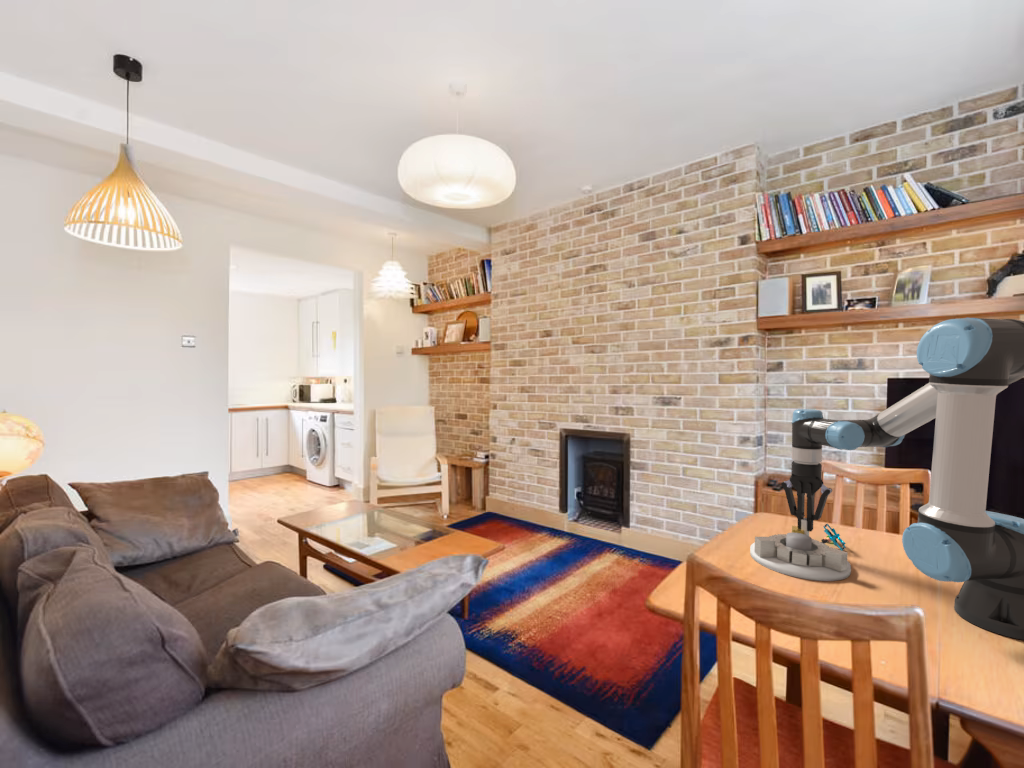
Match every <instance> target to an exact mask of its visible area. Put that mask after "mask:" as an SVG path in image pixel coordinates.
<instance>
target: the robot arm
mask: <svg viewBox="0 0 1024 768" xmlns="http://www.w3.org/2000/svg"><path fill="white" fill-rule="evenodd" d="M916 359H917V362H918V364H919V365H921V369H923V371H924V372H927V373H928V374H929V378H928V383H925V385H924V386H923V385H922V386H921V387H920V388H918V389H917V390H915V391H913V392H911V394H908V395H907V396H905V397H903V398H902V399H900V400H899V401H897V402H896V403H894V404H892V405H891V406H889V407H888V408H886V409H884V410H883V411H881V412H880V413H878V414H877V415H874V416H873V417H872V418H869V419H868V418H867V419H830V418H824V415H823V414H824V413H823V411H822V410H820V409H809V408H797V409H794V410H793V413H792V417H791V418H792V421H791V460H792V462H791V470H790V471H791V475H790V477H789V479H788V480H785V481H782V482H781V484H780V485H781V487H782V488H783V490H784V492H785V496H786V501H787V505H788V508H789V513H790V515H791V516H794V517H795V518H797V526H798V529H801V530H804V534H805V535H808V536H810V532H813V530H814V521H819V520H820V519H821V518H822V515H823V512H824V510H825V507H826V502H827V500H828V497H829V495H830V494H831V493H832V492H833V489H832V488H831V487H828V486H826V485H825V484H824V481H823V479H822V470H823V468H822V464H821V463H822V461H823V460H822V458H823V446H824V447H829V448H834V449H837V450H841V451H842V450H844V451H855V450H856V449H858V448H888V447H895V446H898V445H900V444H901V443H902V442H903V439H905V436H906V435H907V434H909V433H910V432H912V431H914V430H916V429H918V428H919V427H921V426H923V425H925V424H927V423H930V422H931V421H932V420H934V419H935V422H934V423H935V425H934V434H933V435H934V436H933V447H932V449H933V450H932V457H931V458H932V461H931V470H930V472H931V473H930V483H929V484H930V486H929V496H928V497H929V498H928V502H927V503H926V504H924V505H922V506H920V507H919V508H918V514H917V522H914V523H911V524H910V525H909V526H908V527H906V528H905V529H904V531H903V533H902V537H901V542H902V547H903V551H904V553H905V555H906V556H907V558H908V560H910V561H911V563H912V565H913V566H914V567H915V568H916V569H917V570H918V571H920V572H921V573H922V574H923V575H925V576H927V577H929V578H930V579H933V580H935V581H938V582H947V583H948V582H949V583H950V582H954V583H963V584H962V585H961V588H960V589H959V593H958V594H956V596H955V598H954V606H953V608H954V609H953V610H954V611H955V613H956V614H957V615H958V616H960V618H962V619H963V620H965V621H967V622H969V623H970V624H973V625H975V626H977V627H979V628H981V629H983V630H986V631H988V632H989V631H990V632H992V633H995V634H999V635H1002V636H1005V637H1008V638H1013V639H1017V640H1022V641H1024V518H1021V517H1017V516H1015V515H1014V516H1013V515H1009V514H1006V513H1005V514H1004V513H999V512H994V511H988V510H986V509H987V499H988V488H989V476H990V475H989V474H990V467H991V466H990V465H991V454H992V445H993V436H994V435H993V432H994V425H995V423H994V421H995V412H996V411H995V410H996V401H997V400H996V399H997V396H998V394H1000V393H1001V392H1002V391H1004V390H1005V389H1007V388H1008V387H1009V385H1012V383H1015V382H1017V381H1019V380H1021V379H1022V378H1024V320H1021V319H1015V318H1014V319H1012V318H1002V319H1000V318H999V319H998V318H986V317H985V318H984V317H983V318H981V317H963V318H962V317H961V318H951V319H946V320H943V321H941V322H938V323H936V324H934V325H932V327H930V329H928V330H927V331H926V332H924V333H923V335H922V337H920V340H919V342H918V345H917V347H916ZM792 487H793V488H794V489H795V491H796V496H797V498H796V500H797V501H796V500H795V496H794V492H793V488H792ZM818 491H820V493H821V495H820V497H819V500H818V504H817V506H816V510H815V497H816V496H815V495H816V493H817V492H818ZM805 497H806V500H805ZM805 501H806V502H805ZM796 502H797V503H796ZM805 503H806V515H805ZM805 516H806V517H805Z"/></svg>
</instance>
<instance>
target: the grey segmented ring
mask: <svg viewBox="0 0 1024 768" xmlns="http://www.w3.org/2000/svg"><path fill="white" fill-rule="evenodd" d="M791 533H801V534H804V530H801V529H798V525H791ZM786 536H787V533H785V534H784V533H783V534H782V533H780V534H779V533H777V534H771V535H769V536H755V537H754V543H755V553H756V554H757V555H759V556H760V557H777V558H778V559H781V560H784V561H786V562H792V563H793V564H798V565H803V566H806V564H807V565H808V566H825V567H828V568H831V569H834V570H837V571H840V572H842V571H844V570H847V561H848V554H849V553H848V552H847V551H844V550H843V551H841V550H840V549H837V548H835V547H833V546H832V547H830V546H829V545H827V544H826V543H825V544H824V543H822V541H820V540H816V539H814V538H812V543H811V551H803V550H798V549H793V548H790V547H787V546H786Z"/></svg>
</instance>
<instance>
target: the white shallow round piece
mask: <svg viewBox="0 0 1024 768" xmlns="http://www.w3.org/2000/svg"><path fill="white" fill-rule="evenodd" d="M786 534H787V536H786V546H787V547H790V548H793V549H798V550H803V551H811V543H812V539H813V538H812V537H811V536H810V535H809V536H808V535H805V534H801V533H792V532H788V533H786ZM749 549H750V550H749V551H750V553H749V554H750V556H751V558H752V559H753V560H754V562H757V564H759V565H761V566H763V567H765V568H767V569H770V570H772V571H774V572H776V573H778V574H782V575H785V576H790V577H793V578H797V579H803V580H808V581H816V582H817V581H818V582H819V581H820V582H835V581H840V580H845V579H847V578H849V577H850V575H851V573H852V565H851V563H850V562H849V561H848V560H847V570H844V571H842V572H840V571H837V570H834V569H831V568H828V567H825V566H808V565H807V564H806V566H803V565H798V564H793V563H792V562H786V561H784V560H781V559H778V558H777V557H760V556H759V555H757V554H756V553H755V542H753V543H752V544H750V547H749Z"/></svg>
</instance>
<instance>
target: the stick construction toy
mask: <svg viewBox="0 0 1024 768" xmlns="http://www.w3.org/2000/svg"><path fill="white" fill-rule="evenodd" d="M826 527H828V528H826ZM823 528H824V530H823V532H824V533H826V535H827V536H825V537H823V538H822V539H821V541H820V542H822V543H824V544H826V543H827V544H828V543H833V545H834V546H837V547H838V548H839V550H841V551H844V550H845V549H846V546H845V545H846V544H847V543H846V542H845V541H844V540H843V539H842V538H841V537H840V536H841V535H840V533H837V532H836V529H835V528H832V526H831V525H829V524H828V523H826V524H824V525H823ZM838 541H839V543H840V545H842V547H841V546H840V545H839V543H838Z"/></svg>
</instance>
